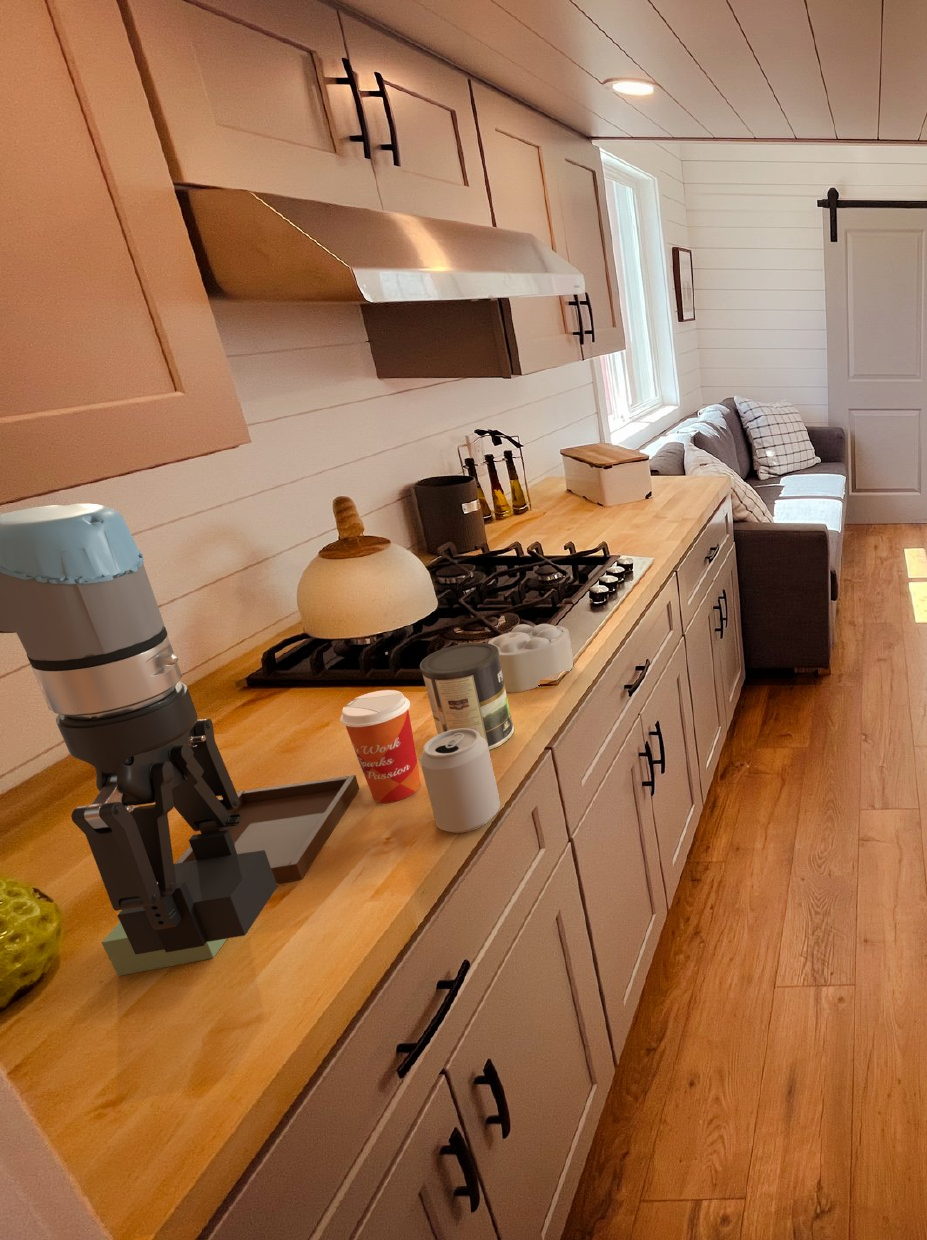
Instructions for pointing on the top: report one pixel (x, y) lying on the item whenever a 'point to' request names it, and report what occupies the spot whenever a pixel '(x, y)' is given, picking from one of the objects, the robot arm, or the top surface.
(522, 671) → the lumpy-topped squat cylinder
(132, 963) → the pad
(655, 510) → the top surface
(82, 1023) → the top surface
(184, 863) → the black block
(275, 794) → the tray
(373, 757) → the paper cup
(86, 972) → the top surface
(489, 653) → the coffee can
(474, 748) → the can
